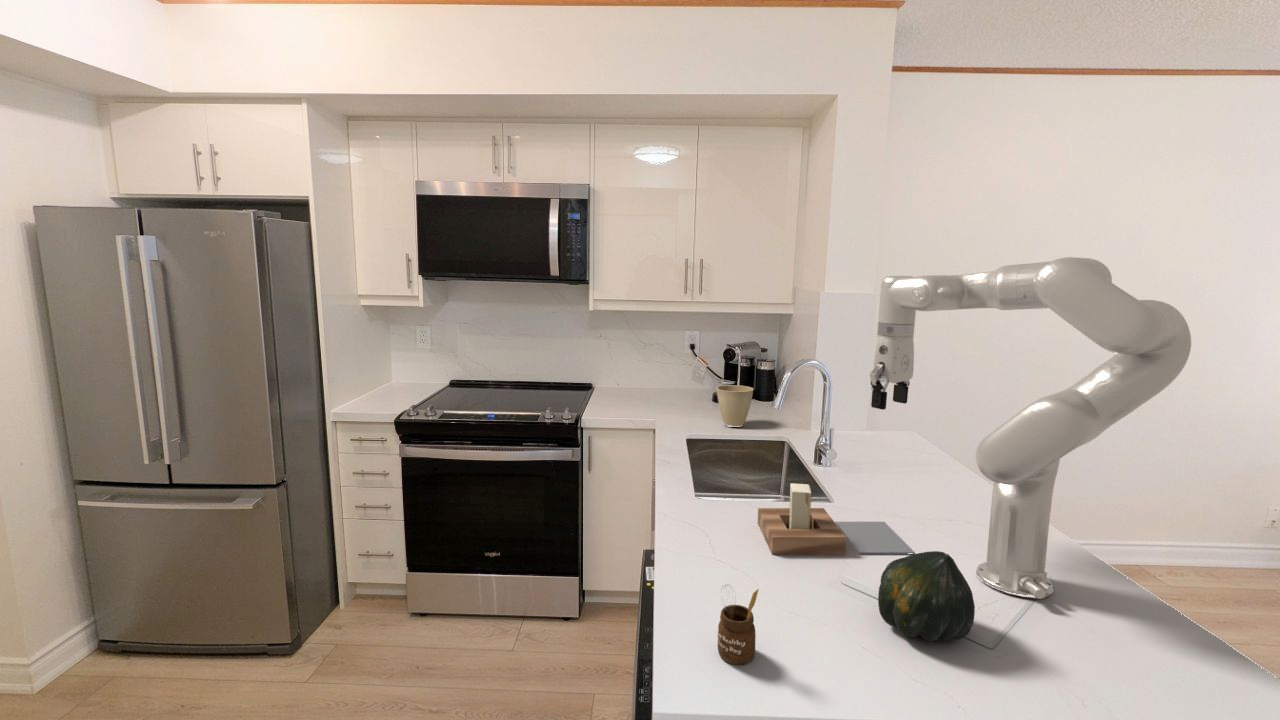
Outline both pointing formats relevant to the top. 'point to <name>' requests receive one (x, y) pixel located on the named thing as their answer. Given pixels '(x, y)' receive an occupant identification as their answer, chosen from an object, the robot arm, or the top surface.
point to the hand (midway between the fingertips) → (889, 405)
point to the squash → (926, 597)
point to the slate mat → (873, 538)
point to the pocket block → (801, 533)
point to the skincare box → (800, 506)
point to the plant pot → (734, 403)
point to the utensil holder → (737, 632)
